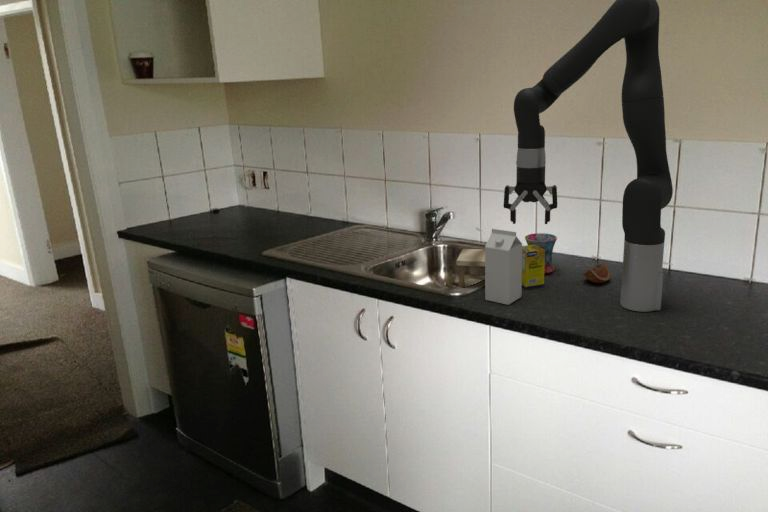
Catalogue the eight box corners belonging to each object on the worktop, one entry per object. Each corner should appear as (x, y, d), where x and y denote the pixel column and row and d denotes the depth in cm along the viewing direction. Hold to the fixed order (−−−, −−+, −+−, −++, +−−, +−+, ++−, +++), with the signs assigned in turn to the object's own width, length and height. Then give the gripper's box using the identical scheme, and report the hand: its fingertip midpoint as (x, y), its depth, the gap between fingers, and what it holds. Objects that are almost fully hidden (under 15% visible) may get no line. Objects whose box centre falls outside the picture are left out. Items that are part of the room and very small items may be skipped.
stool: (503, 275, 191) (503, 249, 188) (499, 289, 180) (499, 262, 177) (463, 274, 194) (462, 248, 192) (456, 287, 183) (456, 260, 181)
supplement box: (544, 286, 180) (545, 249, 177) (525, 289, 179) (526, 252, 175) (533, 280, 186) (534, 244, 183) (515, 283, 184) (515, 246, 181)
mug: (545, 278, 187) (546, 243, 184) (518, 272, 194) (518, 238, 190) (566, 268, 195) (568, 234, 192) (540, 262, 201) (541, 229, 198)
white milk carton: (498, 292, 178) (498, 225, 172) (521, 297, 173) (522, 229, 168) (485, 300, 172) (484, 231, 167) (508, 305, 168) (509, 235, 162)
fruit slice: (598, 288, 177) (599, 271, 175) (577, 283, 182) (577, 266, 180) (614, 281, 182) (615, 264, 181) (593, 276, 187) (593, 259, 186)
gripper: (558, 162, 174) (557, 220, 178) (505, 162, 177) (504, 219, 182) (558, 166, 167) (556, 227, 171) (502, 167, 170) (502, 226, 175)
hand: (530, 223), depth 177 cm, fingers open, 8 cm apart
